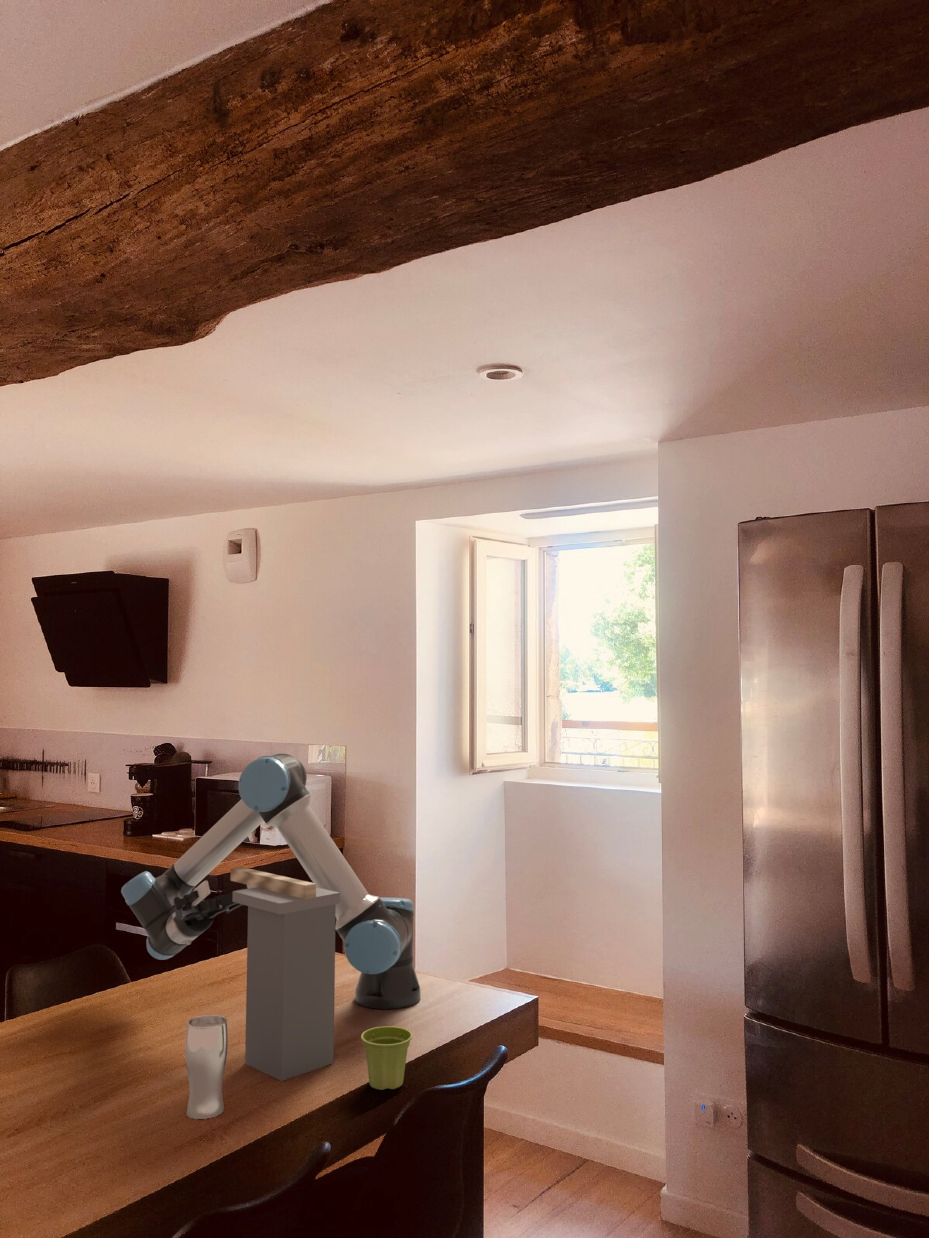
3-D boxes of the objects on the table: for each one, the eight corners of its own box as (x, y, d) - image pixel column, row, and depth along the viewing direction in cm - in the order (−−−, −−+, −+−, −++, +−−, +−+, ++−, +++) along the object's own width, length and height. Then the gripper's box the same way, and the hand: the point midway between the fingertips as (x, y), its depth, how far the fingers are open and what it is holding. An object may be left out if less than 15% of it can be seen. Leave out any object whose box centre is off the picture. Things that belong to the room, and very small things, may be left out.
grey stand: (229, 1059, 187) (232, 891, 189) (289, 1041, 197) (291, 881, 199) (276, 1082, 176) (279, 903, 178) (337, 1061, 186) (339, 892, 188)
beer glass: (214, 1122, 159) (217, 1028, 160) (176, 1118, 160) (178, 1026, 162) (233, 1105, 166) (235, 1015, 167) (195, 1101, 167) (198, 1012, 168)
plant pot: (422, 1080, 176) (422, 1032, 177) (391, 1098, 169) (391, 1047, 169) (381, 1070, 182) (382, 1022, 182) (349, 1087, 174) (350, 1037, 174)
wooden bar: (230, 880, 200) (230, 868, 201) (240, 878, 202) (241, 866, 202) (305, 898, 182) (305, 885, 182) (316, 896, 184) (316, 883, 184)
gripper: (244, 927, 219) (291, 890, 207) (140, 947, 202) (186, 908, 190) (235, 895, 222) (281, 858, 210) (133, 913, 205) (177, 873, 193)
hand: (236, 882), depth 200 cm, fingers open, 13 cm apart
